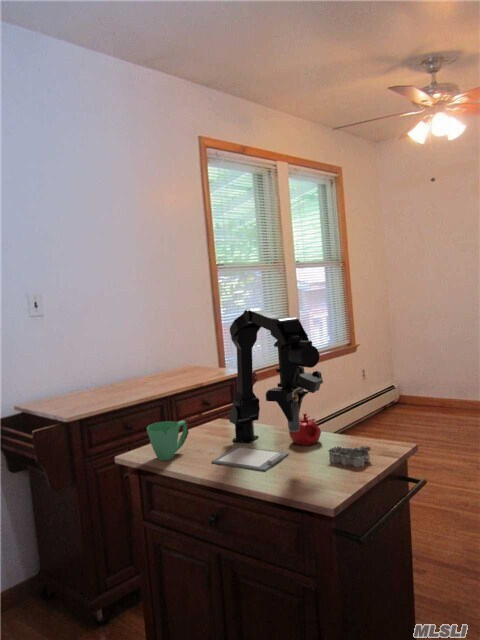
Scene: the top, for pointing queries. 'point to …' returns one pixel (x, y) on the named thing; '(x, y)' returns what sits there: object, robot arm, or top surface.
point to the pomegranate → (306, 432)
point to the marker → (295, 417)
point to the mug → (166, 438)
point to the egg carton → (350, 455)
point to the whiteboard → (250, 458)
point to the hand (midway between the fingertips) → (293, 419)
